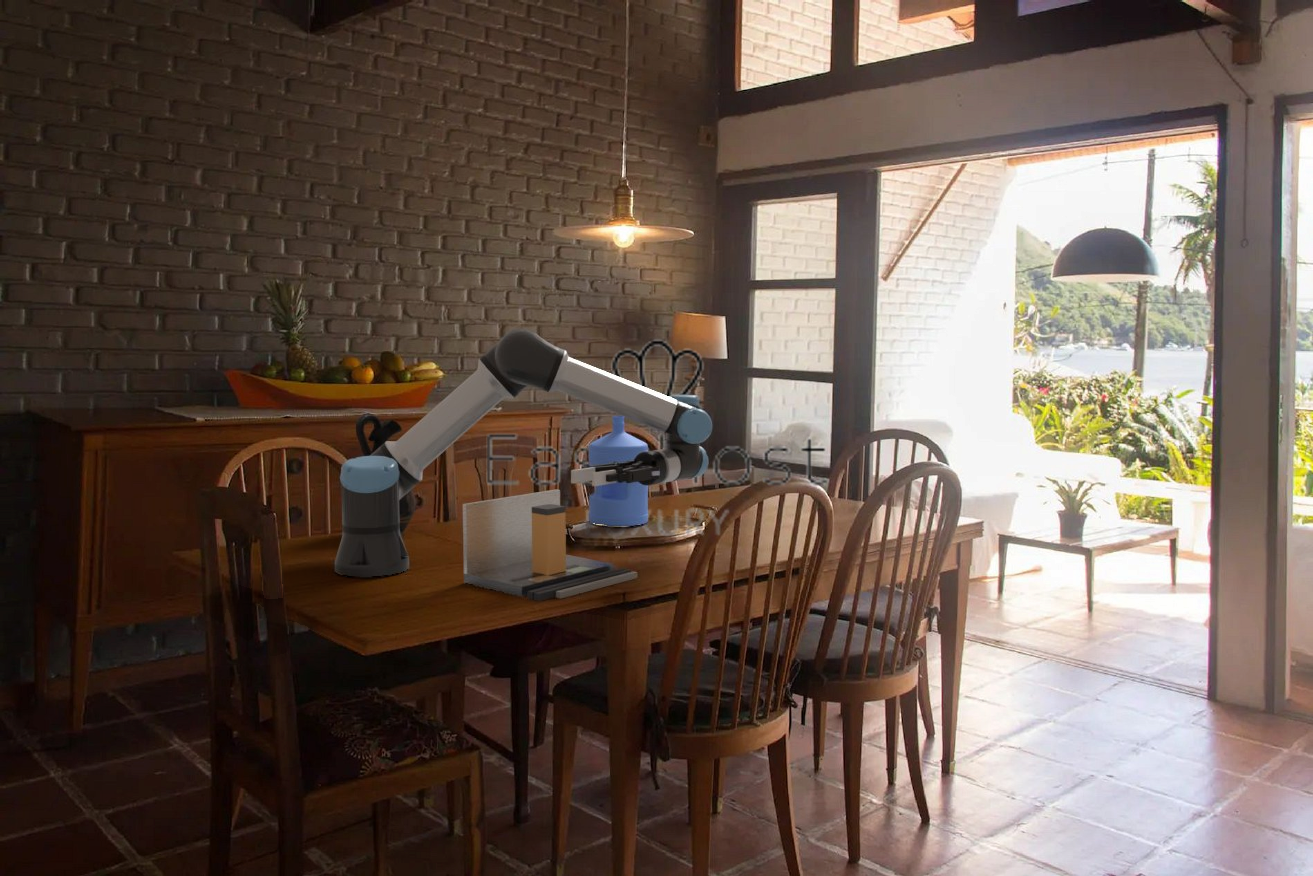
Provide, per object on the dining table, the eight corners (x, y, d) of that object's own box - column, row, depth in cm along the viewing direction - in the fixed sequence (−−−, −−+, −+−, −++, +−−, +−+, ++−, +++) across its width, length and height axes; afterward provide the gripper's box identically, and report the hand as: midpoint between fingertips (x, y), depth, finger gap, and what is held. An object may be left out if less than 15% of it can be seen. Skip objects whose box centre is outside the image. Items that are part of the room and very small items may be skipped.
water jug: (623, 515, 290) (623, 413, 287) (660, 523, 278) (660, 417, 275) (576, 521, 280) (576, 416, 277) (612, 530, 268) (612, 420, 265)
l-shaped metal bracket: (521, 597, 201) (520, 513, 199) (463, 583, 212) (462, 504, 210) (614, 573, 221) (614, 497, 219) (557, 561, 232) (556, 489, 230)
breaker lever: (547, 575, 210) (547, 509, 208) (532, 572, 213) (531, 506, 211) (565, 571, 214) (565, 506, 212) (550, 567, 216) (549, 503, 215)
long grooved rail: (544, 602, 197) (544, 595, 197) (527, 598, 200) (527, 591, 200) (637, 578, 217) (637, 571, 217) (619, 574, 220) (619, 567, 220)
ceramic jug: (390, 526, 272) (387, 410, 269) (428, 534, 262) (426, 413, 259) (332, 536, 259) (329, 414, 256) (370, 544, 249) (367, 417, 246)
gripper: (687, 487, 231) (615, 500, 213) (624, 480, 243) (551, 491, 225) (687, 453, 230) (615, 463, 212) (624, 447, 242) (551, 456, 224)
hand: (582, 478), depth 219 cm, fingers open, 5 cm apart
